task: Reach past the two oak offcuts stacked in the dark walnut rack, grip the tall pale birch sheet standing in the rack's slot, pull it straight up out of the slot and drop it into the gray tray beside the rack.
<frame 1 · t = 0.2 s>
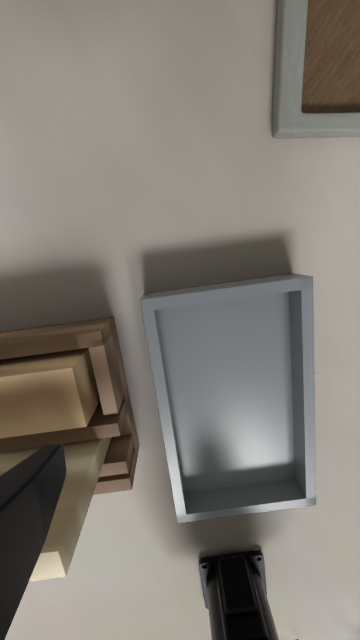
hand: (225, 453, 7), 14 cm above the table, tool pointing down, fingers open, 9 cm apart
birch sheet: (56, 432, 22), point 1 cm above the table, touching walnut rack
walnut rack: (56, 395, 22), on the table
lower oak offcut: (40, 376, 20), point 1 cm above the table, touching upper oak offcut, walnut rack
upper oak offcut: (25, 390, 18), point 4 cm above the table, touching lower oak offcut
gray tray: (229, 393, 23), on the table
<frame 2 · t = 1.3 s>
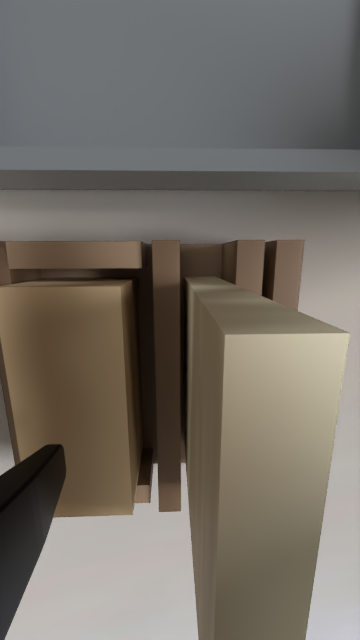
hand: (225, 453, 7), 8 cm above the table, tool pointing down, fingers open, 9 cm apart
birch sheet: (198, 363, 14), point 1 cm above the table, touching walnut rack
walnut rack: (152, 354, 15), on the table
lower oak offcut: (101, 365, 14), point 1 cm above the table, touching upper oak offcut, walnut rack
upper oak offcut: (88, 385, 12), point 4 cm above the table, touching lower oak offcut
gray tray: (188, 50, 12), on the table
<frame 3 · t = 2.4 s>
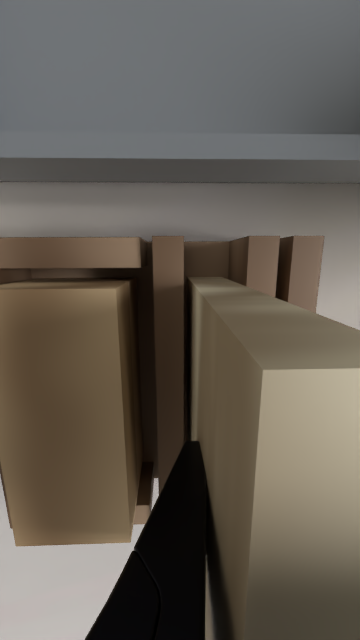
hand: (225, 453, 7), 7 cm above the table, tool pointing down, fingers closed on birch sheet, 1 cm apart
birch sheet: (202, 371, 13), point 1 cm above the table, touching gripper, walnut rack
walnut rack: (152, 360, 14), on the table
lower oak offcut: (97, 373, 13), point 1 cm above the table, touching upper oak offcut, walnut rack
upper oak offcut: (82, 396, 11), point 4 cm above the table, touching lower oak offcut
gray tray: (192, 28, 11), on the table
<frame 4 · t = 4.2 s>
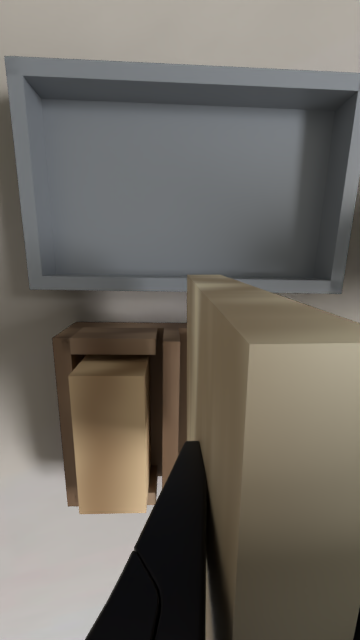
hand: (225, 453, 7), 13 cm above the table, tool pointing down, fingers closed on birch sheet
birch sheet: (202, 367, 13), point 7 cm above the table, touching gripper
walnut rack: (158, 396, 21), on the table
lower oak offcut: (123, 407, 19), point 1 cm above the table, touching upper oak offcut, walnut rack
upper oak offcut: (117, 425, 17), point 4 cm above the table, touching lower oak offcut
gray tray: (188, 199, 18), on the table
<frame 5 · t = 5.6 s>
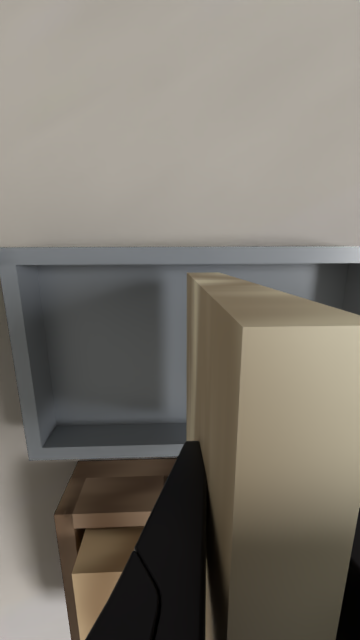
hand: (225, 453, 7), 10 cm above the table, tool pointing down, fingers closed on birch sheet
birch sheet: (201, 363, 13), point 4 cm above the table, touching gripper
walnut rack: (165, 526, 20), on the table
upper oak offcut: (124, 586, 17), point 4 cm above the table, touching lower oak offcut
gray tray: (193, 343, 17), on the table
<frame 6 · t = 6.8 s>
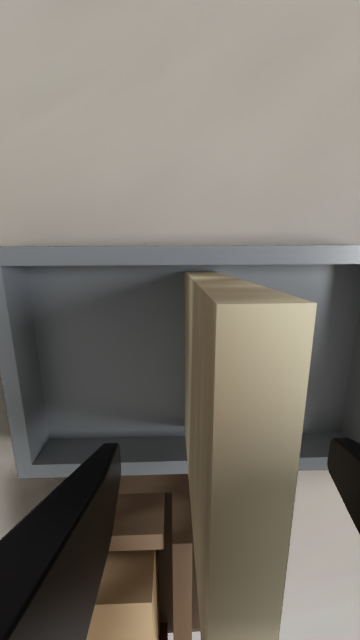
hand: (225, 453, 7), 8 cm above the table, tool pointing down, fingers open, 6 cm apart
birch sheet: (198, 353, 15), point 1 cm above the table, touching gray tray
walnut rack: (166, 544, 19), on the table
lower oak offcut: (127, 569, 17), point 1 cm above the table, touching upper oak offcut, walnut rack
upper oak offcut: (121, 613, 15), point 4 cm above the table, touching lower oak offcut
gray tray: (196, 350, 16), on the table
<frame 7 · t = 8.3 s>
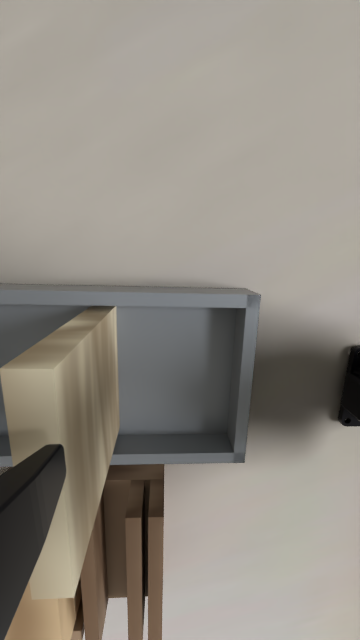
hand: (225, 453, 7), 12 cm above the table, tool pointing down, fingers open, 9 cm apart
birch sheet: (107, 369, 18), point 1 cm above the table, touching gray tray
walnut rack: (92, 525, 23), on the table
upper oak offcut: (42, 577, 19), point 4 cm above the table, touching lower oak offcut
gray tray: (110, 365, 19), on the table
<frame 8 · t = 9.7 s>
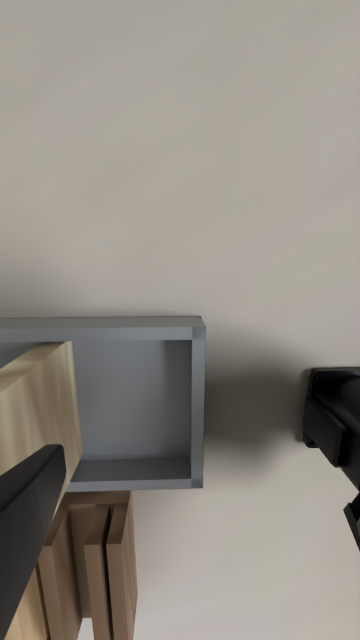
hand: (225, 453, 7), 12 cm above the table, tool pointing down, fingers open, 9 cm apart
birch sheet: (66, 398, 19), point 1 cm above the table, touching gray tray
walnut rack: (65, 546, 23), on the table
lower oak offcut: (26, 566, 22), point 1 cm above the table, touching upper oak offcut, walnut rack
upper oak offcut: (10, 600, 19), point 4 cm above the table, touching lower oak offcut
gray tray: (72, 393, 20), on the table
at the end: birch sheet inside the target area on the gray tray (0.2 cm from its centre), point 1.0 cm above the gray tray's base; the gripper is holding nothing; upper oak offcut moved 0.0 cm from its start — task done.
